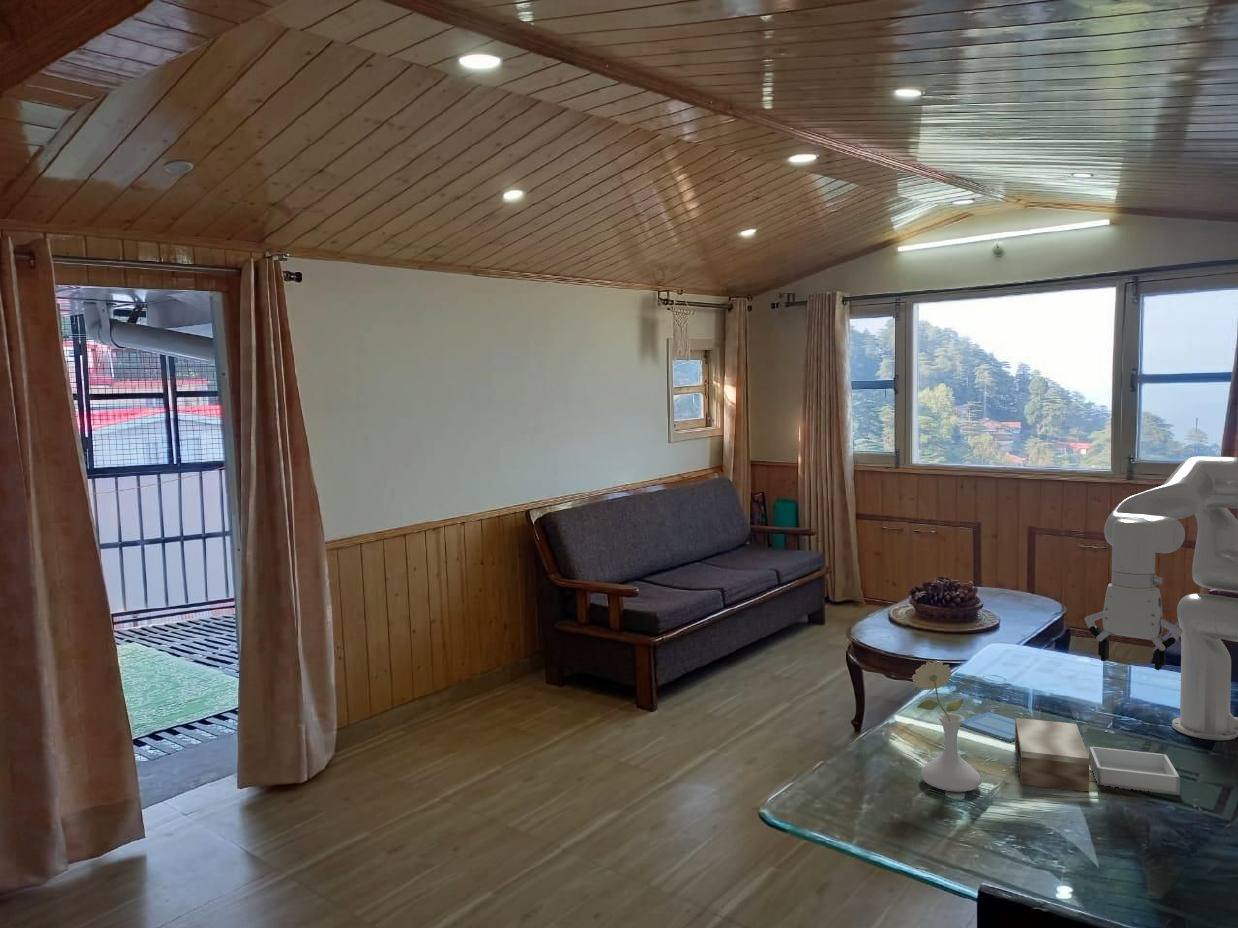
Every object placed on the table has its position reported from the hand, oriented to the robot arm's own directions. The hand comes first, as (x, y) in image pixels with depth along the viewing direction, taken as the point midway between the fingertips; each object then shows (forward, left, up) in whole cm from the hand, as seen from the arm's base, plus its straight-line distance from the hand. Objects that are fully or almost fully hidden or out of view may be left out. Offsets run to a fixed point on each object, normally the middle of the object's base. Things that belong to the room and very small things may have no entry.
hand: (1131, 664), depth 178 cm
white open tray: (0, +2, -23) cm, 23 cm away
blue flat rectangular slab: (+24, -20, -23) cm, 39 cm away
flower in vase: (+35, +17, -23) cm, 45 cm away
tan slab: (+15, +2, -23) cm, 27 cm away
